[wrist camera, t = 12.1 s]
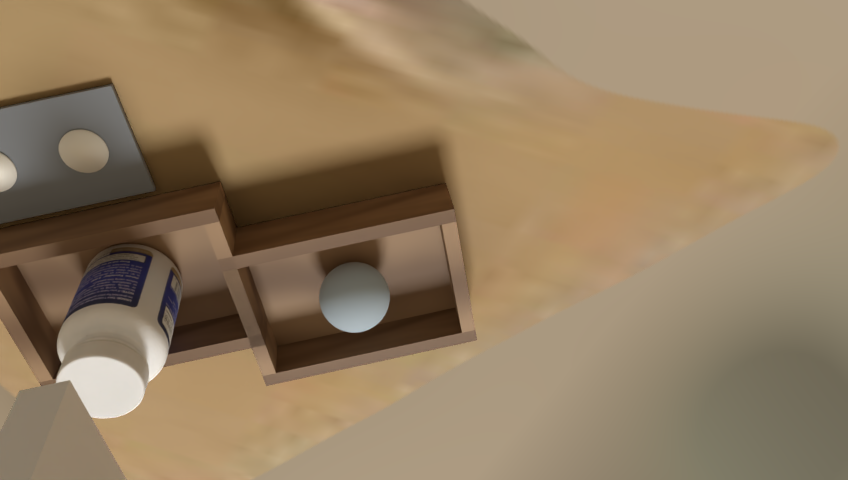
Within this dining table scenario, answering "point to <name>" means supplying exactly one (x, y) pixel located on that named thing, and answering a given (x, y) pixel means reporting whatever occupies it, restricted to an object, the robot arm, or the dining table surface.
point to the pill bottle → (119, 328)
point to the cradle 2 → (342, 243)
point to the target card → (67, 154)
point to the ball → (354, 297)
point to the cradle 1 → (113, 225)
